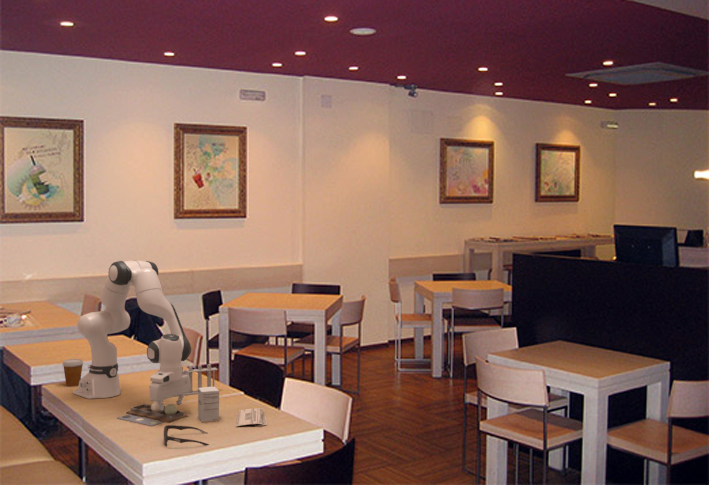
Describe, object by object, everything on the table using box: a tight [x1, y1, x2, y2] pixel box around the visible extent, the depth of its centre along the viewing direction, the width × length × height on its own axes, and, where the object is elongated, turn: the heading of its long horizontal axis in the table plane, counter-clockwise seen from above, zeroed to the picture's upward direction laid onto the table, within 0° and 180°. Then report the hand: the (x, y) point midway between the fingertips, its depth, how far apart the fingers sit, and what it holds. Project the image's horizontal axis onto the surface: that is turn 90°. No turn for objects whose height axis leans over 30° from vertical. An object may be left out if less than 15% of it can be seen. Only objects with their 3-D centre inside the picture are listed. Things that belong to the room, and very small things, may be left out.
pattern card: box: [116, 414, 164, 427], centre depth 287 cm, size 20×6×1 cm, turn 60°
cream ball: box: [150, 401, 161, 413], centre depth 295 cm, size 5×5×5 cm
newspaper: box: [235, 407, 268, 428], centre depth 292 cm, size 23×12×2 cm, turn 7°
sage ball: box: [165, 403, 178, 416], centre depth 291 cm, size 5×5×5 cm
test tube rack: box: [173, 363, 218, 398], centre depth 331 cm, size 25×4×13 cm, turn 117°
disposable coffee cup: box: [62, 358, 84, 388], centre depth 344 cm, size 10×10×12 cm
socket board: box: [125, 403, 189, 424], centre depth 295 cm, size 25×11×2 cm, turn 60°
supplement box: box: [197, 386, 220, 423], centre depth 290 cm, size 7×7×13 cm
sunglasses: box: [163, 424, 210, 447], centre depth 263 cm, size 16×17×5 cm
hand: (170, 407), depth 291 cm, fingers open, 8 cm apart
